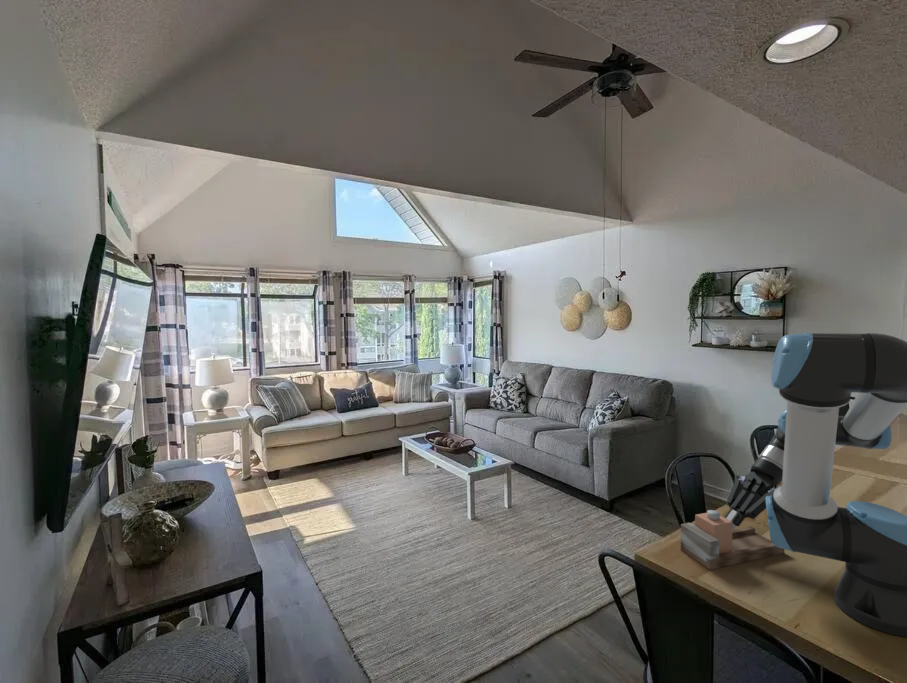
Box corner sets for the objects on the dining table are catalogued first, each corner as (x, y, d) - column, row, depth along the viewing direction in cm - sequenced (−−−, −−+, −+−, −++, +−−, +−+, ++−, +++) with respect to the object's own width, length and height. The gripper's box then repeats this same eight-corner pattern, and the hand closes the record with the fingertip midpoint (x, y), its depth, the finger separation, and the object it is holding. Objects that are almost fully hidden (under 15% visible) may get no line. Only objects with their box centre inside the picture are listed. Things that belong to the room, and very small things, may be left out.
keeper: (712, 542, 125) (712, 506, 124) (731, 554, 118) (732, 516, 118) (694, 545, 123) (695, 509, 122) (713, 558, 117) (714, 519, 116)
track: (751, 535, 131) (751, 511, 130) (784, 553, 121) (785, 526, 120) (680, 549, 124) (680, 524, 124) (709, 569, 114) (709, 542, 114)
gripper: (802, 482, 119) (753, 551, 117) (758, 466, 132) (712, 528, 129) (787, 465, 118) (737, 535, 115) (744, 450, 130) (697, 513, 127)
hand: (724, 531), depth 122 cm, fingers closed
